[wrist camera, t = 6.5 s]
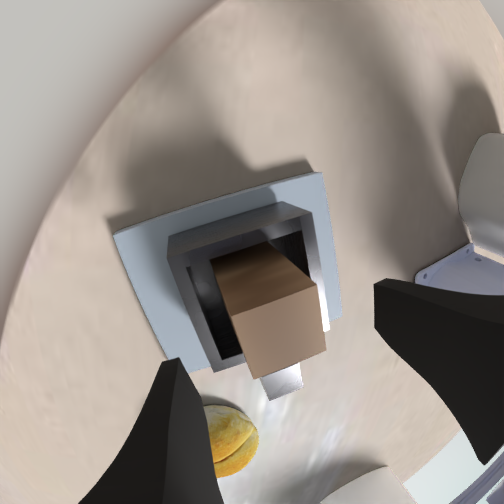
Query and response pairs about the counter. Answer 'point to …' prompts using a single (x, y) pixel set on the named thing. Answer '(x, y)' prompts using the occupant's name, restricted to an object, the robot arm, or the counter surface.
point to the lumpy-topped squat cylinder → (484, 193)
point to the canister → (372, 490)
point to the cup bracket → (207, 291)
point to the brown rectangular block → (270, 307)
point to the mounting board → (159, 228)
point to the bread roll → (230, 439)
